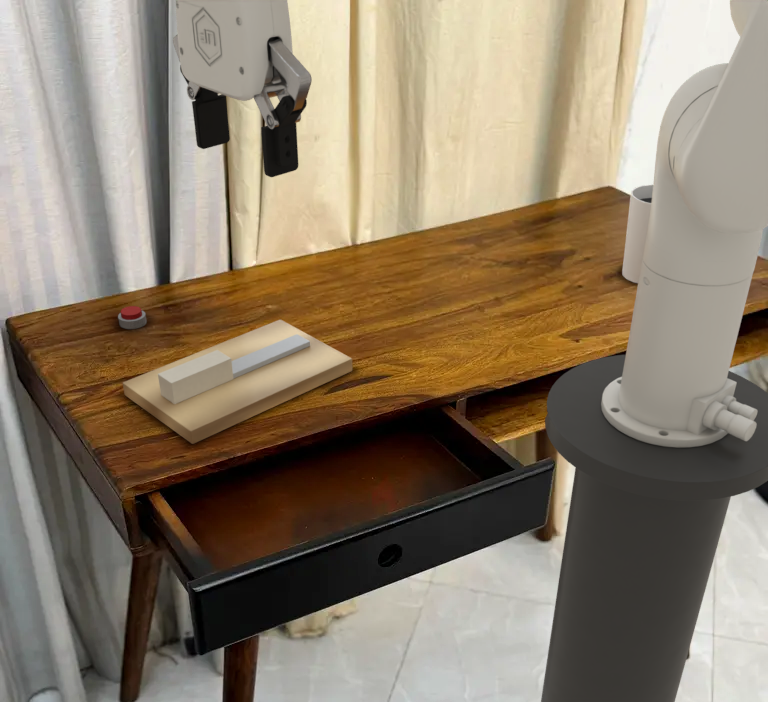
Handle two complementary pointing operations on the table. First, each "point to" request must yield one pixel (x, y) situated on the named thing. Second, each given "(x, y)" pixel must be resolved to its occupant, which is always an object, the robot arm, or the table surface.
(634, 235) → the white cup
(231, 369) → the knife
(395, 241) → the table surface
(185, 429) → the cutting board
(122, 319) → the push button
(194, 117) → the robot arm
